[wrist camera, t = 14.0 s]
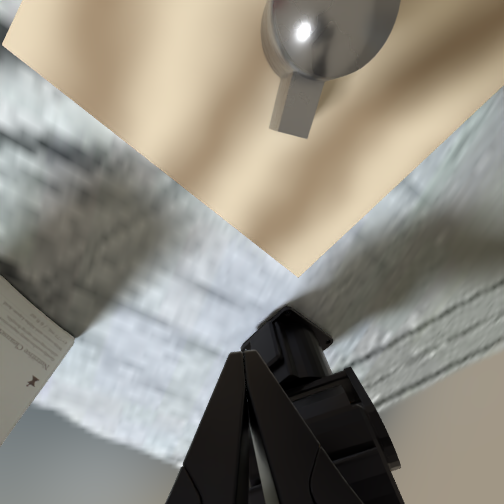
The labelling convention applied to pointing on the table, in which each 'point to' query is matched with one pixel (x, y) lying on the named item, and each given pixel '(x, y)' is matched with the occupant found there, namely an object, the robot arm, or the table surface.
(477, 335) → the table surface
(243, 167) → the base plate
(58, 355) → the skincare box
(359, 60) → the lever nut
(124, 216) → the table surface
